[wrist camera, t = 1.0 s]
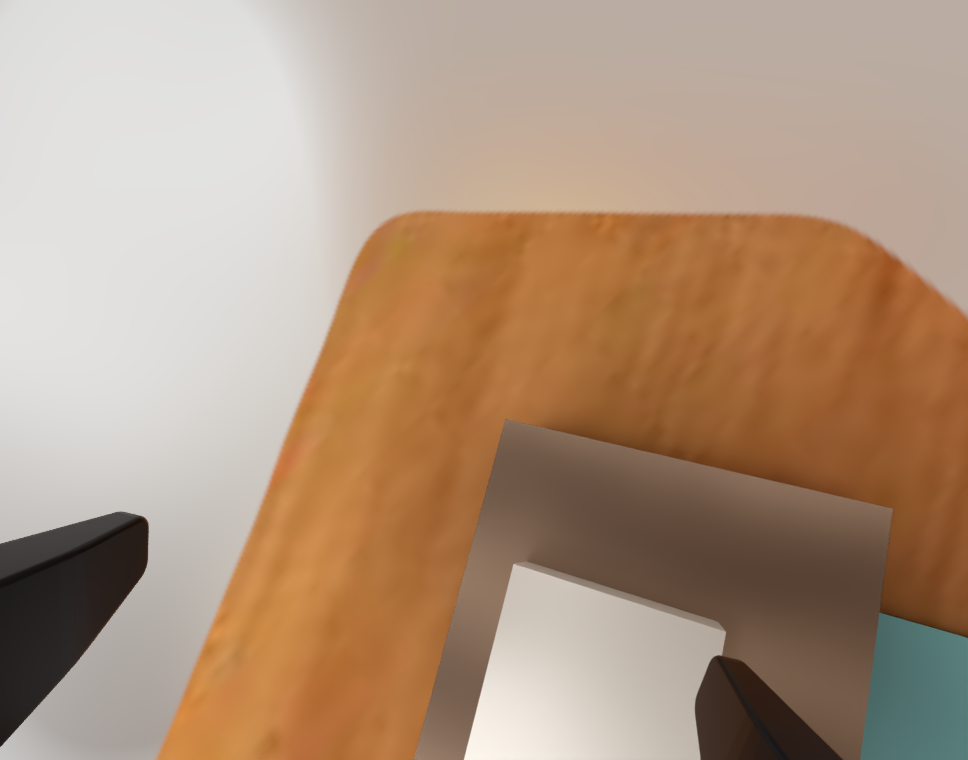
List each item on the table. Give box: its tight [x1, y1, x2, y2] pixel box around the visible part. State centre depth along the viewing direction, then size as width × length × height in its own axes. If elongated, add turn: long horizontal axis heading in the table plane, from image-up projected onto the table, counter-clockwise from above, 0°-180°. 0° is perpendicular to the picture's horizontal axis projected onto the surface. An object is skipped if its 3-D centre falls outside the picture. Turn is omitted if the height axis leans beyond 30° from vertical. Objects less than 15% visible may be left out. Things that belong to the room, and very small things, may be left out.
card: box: [464, 562, 726, 760], centre depth 16 cm, size 9×6×2 cm, turn 167°
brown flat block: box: [414, 419, 893, 760], centre depth 19 cm, size 18×12×4 cm, turn 167°
